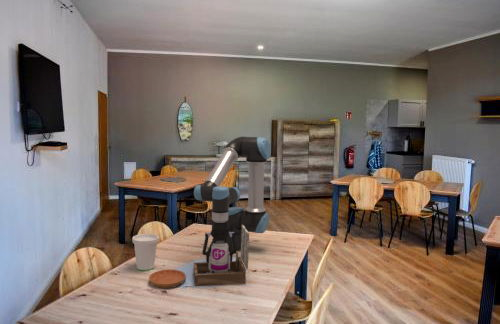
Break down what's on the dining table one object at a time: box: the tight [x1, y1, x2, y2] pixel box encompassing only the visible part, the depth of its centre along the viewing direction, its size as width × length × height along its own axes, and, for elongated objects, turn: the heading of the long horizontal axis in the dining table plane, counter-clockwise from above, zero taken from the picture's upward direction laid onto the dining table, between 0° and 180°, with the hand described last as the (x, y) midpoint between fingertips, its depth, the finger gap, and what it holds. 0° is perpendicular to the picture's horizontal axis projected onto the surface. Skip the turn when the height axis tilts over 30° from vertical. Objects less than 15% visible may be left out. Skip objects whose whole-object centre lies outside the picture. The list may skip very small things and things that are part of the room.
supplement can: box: [209, 241, 229, 274], centre depth 173 cm, size 8×8×15 cm
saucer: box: [148, 269, 187, 289], centre depth 167 cm, size 16×16×3 cm
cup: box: [131, 233, 160, 272], centre depth 182 cm, size 12×12×15 cm
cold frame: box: [192, 225, 250, 287], centre depth 172 cm, size 15×23×23 cm, turn 101°
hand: (219, 268), depth 173 cm, fingers closed on supplement can, 8 cm apart
